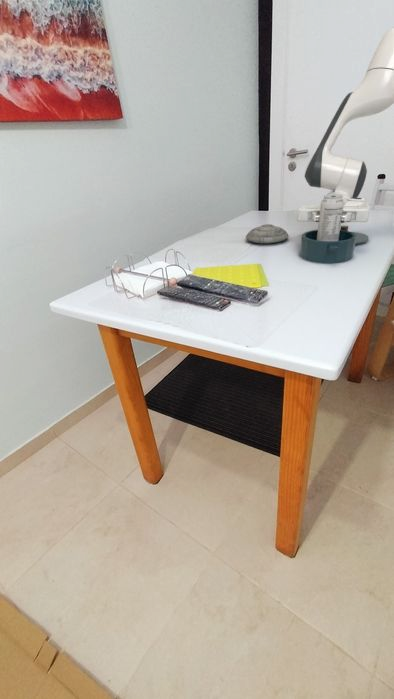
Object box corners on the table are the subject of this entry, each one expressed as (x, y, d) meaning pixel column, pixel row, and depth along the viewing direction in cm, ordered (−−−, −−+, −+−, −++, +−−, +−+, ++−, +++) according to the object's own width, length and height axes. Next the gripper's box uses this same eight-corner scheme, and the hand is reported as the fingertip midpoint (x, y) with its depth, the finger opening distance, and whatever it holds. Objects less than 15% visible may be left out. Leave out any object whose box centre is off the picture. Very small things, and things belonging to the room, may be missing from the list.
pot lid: (361, 233, 119) (363, 220, 116) (374, 246, 106) (377, 231, 103) (314, 235, 122) (316, 221, 119) (321, 247, 108) (323, 233, 106)
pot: (344, 245, 109) (347, 226, 106) (360, 265, 92) (364, 243, 89) (297, 246, 111) (298, 227, 108) (304, 267, 95) (306, 245, 91)
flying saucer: (239, 245, 118) (239, 228, 115) (252, 234, 129) (253, 219, 126) (282, 247, 112) (283, 230, 109) (292, 235, 123) (293, 220, 120)
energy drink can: (335, 246, 103) (343, 193, 95) (338, 252, 98) (346, 197, 90) (314, 247, 104) (320, 194, 96) (316, 253, 99) (322, 198, 91)
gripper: (300, 199, 108) (293, 207, 98) (371, 198, 101) (371, 207, 90) (299, 219, 111) (291, 229, 101) (366, 220, 104) (366, 231, 93)
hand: (330, 219), depth 95 cm, fingers closed on energy drink can, 6 cm apart
